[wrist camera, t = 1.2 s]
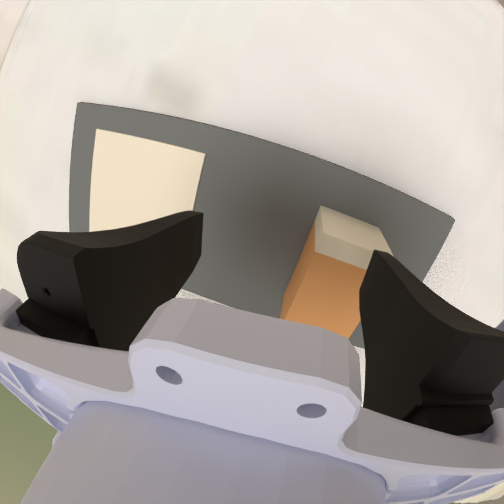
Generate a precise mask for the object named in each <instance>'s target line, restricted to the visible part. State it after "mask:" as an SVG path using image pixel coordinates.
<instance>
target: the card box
mask: <svg viewBox="0 0 504 504" xmlns="http://www.w3.org/2000/svg"><path fill="white" fill-rule="evenodd" d="M374 249H375V250H379V251H383V252H388V253H389V254H391V255H392V256H393V254H392V252H391V250H390V248H389V246H388V244H387V242H386V240H385V238H384V236H383V234H382V232H381V231H380V229H379V228H378V227H376V226H374V225H371V224H369V223H366V222H364V221H361V220H359V219H356V218H353V217H351V216H348V215H346V214H343V213H340V212H338V211H335V210H333V209H330V208H327V207H324V206H322V205H320V208H319V211H318V213H317V216H316V218H315V221H314V223H313V226H312V228H311V231H310V233H309V236H308V238H307V241H306V243H305V246H304V248H303V251H302V253H301V256H300V258H299V260H298V263H297V265H296V268H295V270H294V272H293V275H292V277H291V280H290V282H289V284H288V287H287V289H286V291H285V294H284V298H283V303H282V309H281V315H280V319H283V320H288V321H292V322H297V323H302V324H307V325H312V326H317V327H322V328H325V329H327V330H329V331H332V332H334V333H336V334H339V335H341V336H343V337H346V338H348V339H349V337H350V336H351V334H352V333H353V331H354V330H355V328H356V327H357V325H358V324H359V322H360V320H361V318H360V311H359V289H360V287H361V284H362V281H363V279H364V276H365V273H366V271H367V268H368V265H369V263H370V260H371V257H372V254H373V251H374ZM393 257H394V256H393Z"/></svg>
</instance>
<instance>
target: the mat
mask: <svg viewBox="0 0 504 504" xmlns="http://www.w3.org/2000/svg"><path fill="white" fill-rule="evenodd" d="M96 129H103V130H108V131H113V132H118V133H123V134H128V135H133V136H137V137H142V138H146V139H151V140H155V141H159V142H163V143H168V144H172V145H176V146H180V147H184V148H187V149H191V150H195V151H199V152H202V153H206V156H205V160H204V164H203V168H202V173H201V177H200V182H199V186H198V191H197V195H196V200H195V205H194V209H193V211H196V212H202V213H204V215H203V231H202V250H201V257H200V259H199V261H198V263H197V265H196V267H195V269H194V271H193V273H192V274H191V275H190V277H189V278H188V280H187V281H186V282H185V284H184V285H183V287H182V289H184V290H187V291H190V292H192V293H195V294H198V295H200V296H203V297H206V298H208V299H211V300H214V301H217V302H219V303H222V304H225V305H228V306H231V307H233V308H236V309H240V310H244V311H248V312H252V313H256V314H261V315H265V316H270V317H274V318H279V319H280V315H281V309H282V303H283V298H284V294H285V291H286V289H287V287H288V284H289V282H290V280H291V277H292V275H293V272H294V270H295V268H296V265H297V263H298V260H299V258H300V256H301V253H302V251H303V248H304V246H305V243H306V241H307V238H308V236H309V233H310V231H311V228H312V226H313V223H314V221H315V218H316V216H317V213H318V211H319V208H320V205H322V206H324V207H327V208H330V209H333V210H335V211H338V212H340V213H343V214H346V215H348V216H351V217H353V218H356V219H359V220H361V221H364V222H366V223H369V224H371V225H374V226H376V227H378V228H379V229H380V231H381V232H382V234H383V236H384V238H385V240H386V242H387V244H388V246H389V248H390V250H391V252H392V254H393V256H394V257H395V258H396V259H397V260H398V261H399V262H400V263H402V264H403V265H404V266H405V267H406V268H407V269H408V270H409V271H410V272H411V273H412V274H414V275H415V276H416V277H417V278H418V279H419V280H420V281H421V282H422V281H423V279H424V278H425V276H426V274H427V273H428V271H429V269H430V267H431V266H432V264H433V262H434V260H435V259H436V257H437V255H438V253H439V251H440V249H441V247H442V246H443V244H444V242H445V240H446V238H447V236H448V234H449V232H450V230H451V228H452V226H453V224H454V222H455V219H453V218H452V217H451V216H449V215H447V214H445V213H443V212H441V211H439V210H437V209H435V208H433V207H431V206H429V205H427V204H425V203H423V202H421V201H419V200H417V199H415V198H413V197H411V196H409V195H407V194H405V193H403V192H400V191H398V190H396V189H394V188H392V187H389V186H387V185H385V184H383V183H380V182H378V181H376V180H374V179H371V178H369V177H366V176H364V175H362V174H359V173H357V172H354V171H352V170H349V169H347V168H344V167H342V166H339V165H336V164H334V163H331V162H329V161H326V160H323V159H320V158H318V157H315V156H312V155H309V154H306V153H304V152H301V151H298V150H295V149H292V148H289V147H286V146H283V145H279V144H276V143H273V142H270V141H267V140H263V139H260V138H257V137H253V136H250V135H246V134H243V133H239V132H236V131H232V130H228V129H224V128H220V127H217V126H213V125H208V124H204V123H200V122H196V121H191V120H187V119H182V118H178V117H173V116H168V115H163V114H158V113H153V112H147V111H141V110H135V109H129V108H123V107H116V106H109V105H101V104H93V103H84V102H79V103H77V108H76V115H75V122H74V131H73V140H72V150H71V164H70V184H69V229H70V232H89V215H90V189H91V174H92V162H93V152H94V144H95V136H96ZM348 340H349V341H350V343H351V344H352V345H353V346H357V347H361V348H364V349H365V347H364V339H363V332H362V325H361V320H360V322H359V324H358V325H357V327H356V328H355V330H354V331H353V333H352V334H351V336H350V337H349V339H348Z"/></svg>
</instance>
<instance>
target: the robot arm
mask: <svg viewBox="0 0 504 504" xmlns="http://www.w3.org/2000/svg"><path fill="white" fill-rule="evenodd" d="M203 215H204V213H202V212H196V211H191V210H189V211H183V212H179V213H175V214H172V215H168V216H165V217H162V218H158V219H155V220H151V221H148V222H144V223H140V224H137V225H132V226H128V227H123V228H117V229H111V230H102V231H93V232H50V231H38V232H36V233H35V234H33V235H32V236H30V237H29V238H27V239H26V240H24V241H23V242H21V244H20V245H19V247H18V251H17V263H18V268H19V272H20V275H21V278H22V281H23V284H24V287H25V290H26V293H27V296H28V298H29V299H28V300H26V301H25V302H24V303H22V301H21V300H20V299H19V298H18V297H17V296H15V295H13V294H12V293H10V292H9V291H7V290H5V289H1V290H0V382H1V383H2V384H3V385H4V386H5V387H6V388H8V389H9V390H10V391H11V392H12V393H13V394H14V395H15V396H16V397H18V398H19V399H20V400H21V401H22V402H23V403H24V404H25V405H27V406H28V407H29V408H30V409H32V410H33V411H34V412H35V413H36V414H37V415H39V416H40V417H41V418H42V419H44V420H45V421H46V422H47V423H49V424H50V425H51V426H53V427H54V428H55V429H57V430H58V432H57V434H56V435H55V437H54V439H53V441H52V444H53V446H52V450H51V452H50V453H49V455H48V456H47V458H46V460H45V461H44V463H43V465H42V466H41V468H40V470H39V471H38V473H37V475H36V477H35V478H34V480H33V482H32V483H31V485H30V487H29V489H28V491H27V492H26V494H25V496H24V498H23V499H22V501H21V503H20V504H447V503H452V502H455V501H459V500H462V499H466V498H469V497H473V496H476V495H479V494H482V493H484V492H486V491H488V490H490V489H491V488H493V487H495V486H497V485H498V484H500V483H501V482H503V481H504V408H501V409H497V410H495V411H493V412H491V411H490V407H489V405H491V404H492V402H493V400H494V399H493V396H492V392H493V390H494V389H495V388H496V387H497V386H498V385H499V384H500V382H501V381H502V380H503V379H504V332H503V331H500V330H498V329H495V328H493V327H490V326H488V325H486V324H484V323H482V322H480V321H478V320H476V319H474V318H472V317H470V316H468V315H467V314H465V313H463V312H462V311H460V310H459V309H457V308H455V307H454V306H452V305H451V304H449V303H448V302H446V301H445V300H444V299H442V298H441V297H440V296H438V295H437V294H436V293H434V292H433V291H432V290H431V289H429V288H428V287H427V286H426V285H425V284H424V283H422V282H421V281H420V280H419V279H418V278H417V277H416V276H415V275H414V274H412V273H411V272H410V271H409V270H408V269H407V268H406V267H405V266H404V265H403V264H402V263H400V262H399V261H398V260H397V259H396V258H395V257H393V256H392V255H391V254H389V253H388V252H383V251H379V250H375V249H374V251H373V254H372V257H371V260H370V263H369V265H368V268H367V271H366V273H365V276H364V279H363V281H362V284H361V287H360V289H359V311H360V318H361V325H362V332H363V339H364V347H365V358H366V369H365V391H364V402H363V407H361V404H362V397H361V377H360V362H359V354H358V353H357V351H356V350H355V348H354V347H353V345H352V344H351V343H350V341H349V340H348V338H346V337H343V336H341V335H339V334H336V333H334V332H332V331H329V330H327V329H325V328H322V327H317V326H312V325H307V324H302V323H297V322H292V321H288V320H283V319H279V318H274V317H270V316H265V315H261V314H256V313H252V312H248V311H244V310H240V309H235V308H231V307H227V306H223V305H219V304H215V303H212V302H208V301H204V300H200V299H183V298H175V296H176V295H177V294H178V292H179V291H180V289H181V288H182V287H183V285H184V284H185V282H186V281H187V280H188V278H189V277H190V275H191V274H192V273H193V271H194V269H195V267H196V265H197V263H198V261H199V259H200V257H201V250H202V231H203Z"/></svg>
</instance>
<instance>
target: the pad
mask: <svg viewBox="0 0 504 504" xmlns="http://www.w3.org/2000/svg"><path fill="white" fill-rule="evenodd" d="M205 156H206V153H202V152H199V151H195V150H191V149H187V148H184V147H180V146H176V145H172V144H168V143H163V142H159V141H155V140H151V139H146V138H142V137H137V136H133V135H128V134H123V133H118V132H113V131H108V130H103V129H96V136H95V144H94V152H93V162H92V174H91V189H90V215H89V232H93V231H102V230H111V229H117V228H123V227H128V226H132V225H137V224H140V223H144V222H148V221H151V220H155V219H158V218H162V217H165V216H168V215H172V214H175V213H179V212H183V211H189V210H191V211H193V209H194V205H195V200H196V195H197V191H198V186H199V182H200V177H201V173H202V168H203V164H204V160H205Z"/></svg>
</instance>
